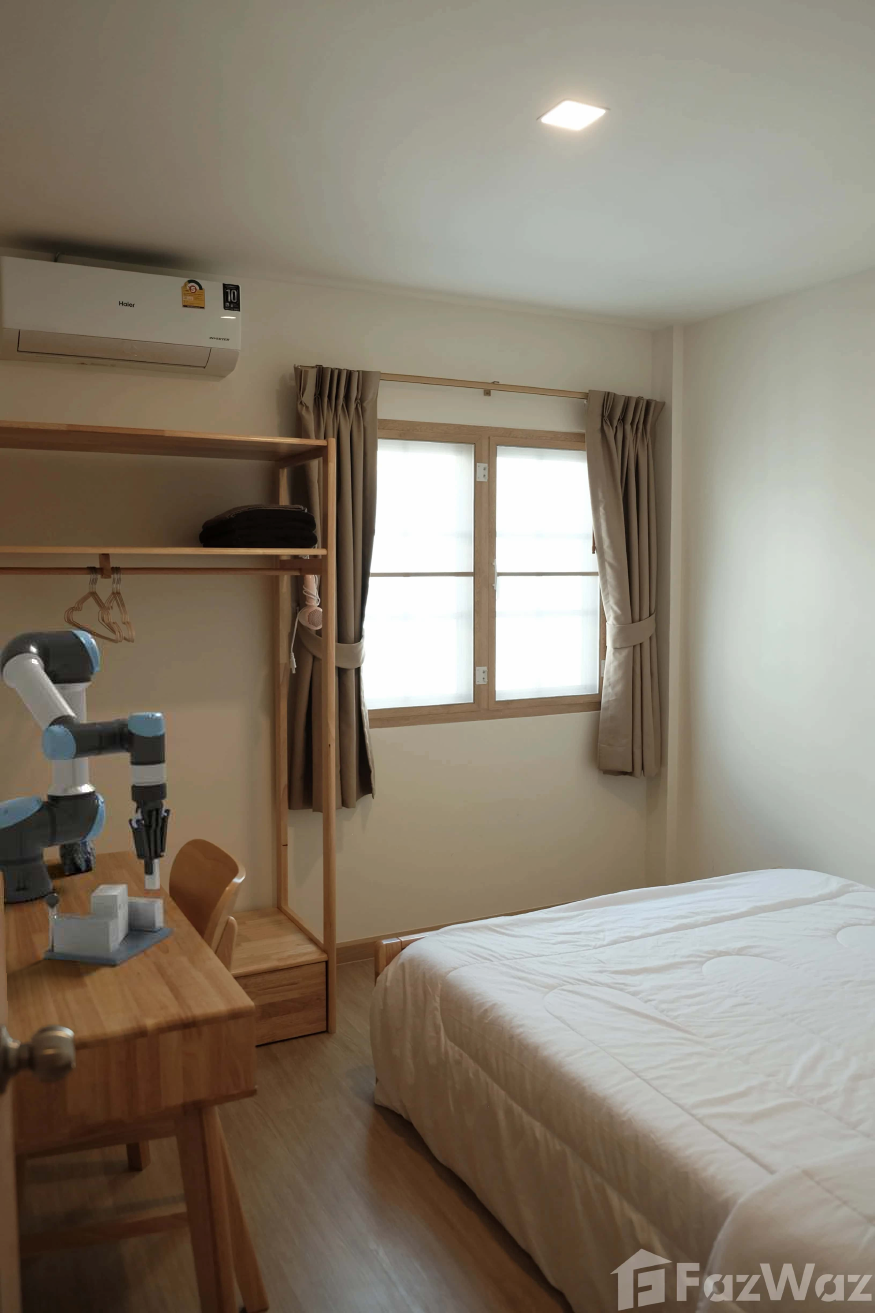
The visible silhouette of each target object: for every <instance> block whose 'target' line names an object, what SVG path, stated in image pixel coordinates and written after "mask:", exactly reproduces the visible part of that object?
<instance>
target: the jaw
mask: <svg viewBox="0 0 875 1313" xmlns="http://www.w3.org/2000/svg"><path fill="white" fill-rule="evenodd" d="M127 898H128V929H135V930H147V931H157V930H159V929H161V928H162V927H164V904H163V903H164V901H163V900H164V899H162V898H152V897H151V898H150V897H136V896H127Z"/></svg>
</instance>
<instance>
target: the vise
mask: <svg viewBox="0 0 875 1313" xmlns="http://www.w3.org/2000/svg"><path fill="white" fill-rule="evenodd" d="M44 903H45V905H46V907H48V919H49V920H48V921H49V949H47V950H46V951H43V958H44V959H49V958H50V959H51V960H59V961H69V962H80V963H81V962H82V963H91V964H101V965H109V966H110V965H111V966H119V965H121V964H123V963H124V962H126V961H128V960H130V959H131V958H133V957H135V956H136V955H138V954H140V953H141V951H142V952H143V951H145V950H146V949H148V948H150V947H152V946H153V945H155V944H157V943H159V942H160V941H162V940H164V939H165V938H168V937H169V936H171V935H173V934H174V927H170V926H163V927H162V928H161V929H159V930H157V931H147V930H135V929H128V933H127V934H126V936H125V937H124V938H123V940H122V941H121V942H120V943H119V930H118V918H113V917H101V916H91V914H90V915H89V914H88V915H87V914H77V913H65V912H62V913H60V914H58V915H57V906H59V904H60V896H59V895H58V894H57V893H54V892H51V893H50V894H48V895H46V896H45V898H44Z"/></svg>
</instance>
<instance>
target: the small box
mask: <svg viewBox="0 0 875 1313" xmlns="http://www.w3.org/2000/svg"><path fill="white" fill-rule="evenodd" d="M127 897H128V884H123V883H122V884H121V883H120V884H101V885H100V886H99V887H98V888H96V889H95V891H93V892H92V894H91V895H90V896H89V898H90V899H89V901H90V903H89V904H90V916H101V917H113V918H118V930H119V943H120V942H121V941H122V940H123V938H124V937H125V936H126V934H127V933H128V898H127Z"/></svg>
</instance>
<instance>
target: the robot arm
mask: <svg viewBox="0 0 875 1313" xmlns="http://www.w3.org/2000/svg"><path fill="white" fill-rule="evenodd" d="M100 663H101V659H100V653H99V648H98V645H97V643H96V641H95V640H94V638H93V636H92V635H91V634H90V633H88V632H87V631H84V630H73V629H67V630H50V631H49V630H48V631H25V632H22V633H19V634H17V635H15V636H13V637H12V638H11V639H9V640H8V641H7V642H6V643H5V644H4V646H3V647H2V649H1V651H0V676H1V678H2V679H3V680H4V683H5V684H6V685H7V686H9V688H12V689H15V691H16V692H17V694H18V695H19V697H20V698H21V699H22V702H23V703H24V704H25V706H26V707H27V708H28V710H29V711H30V713H31V714H32V716H33V718H34V719H35V720H36V723H37V724H38V725H39V726H40V728H41V730H42V732H41V739H40V740H41V741H40V745H41V748H42V752H43V755H44V756H45V757H46V759H48V760H50V761H51V764H52V766H51V767H52V786H51V787H50V788H49V789H48V790H47V791H46V800H43V799H42V797H40V796H38V795H29V796H25V797H24V796H21V797H17V798H12V799H8V800H6V801H3V802H0V871H1V872H2V873H3V881H4V903H6V904H8V903H19V902H26V900H28V901H31V900H30V899H33V898H37V899H39V898H38V897H41V896H43V897H45V896H44V895H46V896H47V894H48V895H49V893H50V892H51V893H53V881H52V878H51V877H50V874H49V871H48V868H47V866H46V863H45V857H44V850H45V849H46V848H47V849H48V848H53V847H58V846H60V845H64V844H70V843H76V842H77V843H81V842H83V841H87V840H91V839H93V840H94V839H95V838H97V837H98V836H99V835H100V833H102V830H103V828H104V825H105V822H106V806H105V803H104V802H105V800H104V799H103V796H101V794H99V793H96V787H94V785H92V784H91V783H90V776H89V774H90V773H89V757H98V756H109V755H116V754H129V761H130V762H129V765H130V781H131V783H132V784H131V785H130V794H131V796H130V797H131V801H132V802H134V803H135V804H136V807H135V810H134V811H135V815H134V817H133V818H129V819H128V824H129V826H130V829H131V832H132V836H133V837H132V838H133V843H134V849H135V852H136V858H137V860H139V861H143V866H144V867H143V868H144V869H143V870H144V871H143V872H144V884H145V885H144V887H145V889H146V890H158V889H160V888H161V883H160V882H161V880H160V878H161V877H160V859H161V858H164V857H165V852H166V847H167V846H166V845H167V834H168V825H169V824H168V822H169V817H170V814H171V809H170V808H165V807H164V803H163V801H165V799H167V796H168V795H167V794H168V793H167V789H168V788H167V783H166V782H165V781H166V779H167V765H166V740H165V738H166V735H165V732H166V728H165V722H164V716H163V714H162V713H161V712H158V711H153V712H152V711H147V712H146V711H145V712H133V713H131V714H130V715H129V716H128V718H124V717H122V718H116V719H112V720H108V721H107V720H106V721H95V722H93V721H92V722H87V698H86V697H87V695H86V690H87V689H88V687H89V686H90V685H91V684H92V677H93V676H95V675H97V674H98V672H99V670H100V669H99V667H100V665H101V664H100ZM51 893H50V894H51ZM41 898H42V897H41ZM5 899H6V901H5ZM33 900H34V899H33ZM4 903H3V904H4Z"/></svg>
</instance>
